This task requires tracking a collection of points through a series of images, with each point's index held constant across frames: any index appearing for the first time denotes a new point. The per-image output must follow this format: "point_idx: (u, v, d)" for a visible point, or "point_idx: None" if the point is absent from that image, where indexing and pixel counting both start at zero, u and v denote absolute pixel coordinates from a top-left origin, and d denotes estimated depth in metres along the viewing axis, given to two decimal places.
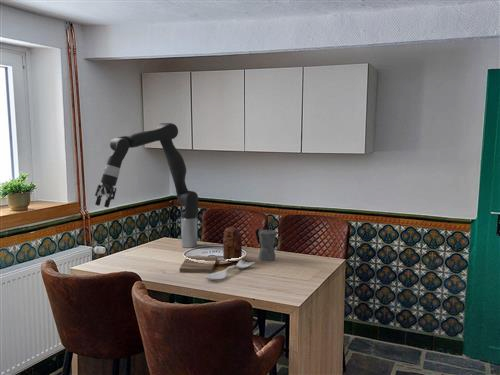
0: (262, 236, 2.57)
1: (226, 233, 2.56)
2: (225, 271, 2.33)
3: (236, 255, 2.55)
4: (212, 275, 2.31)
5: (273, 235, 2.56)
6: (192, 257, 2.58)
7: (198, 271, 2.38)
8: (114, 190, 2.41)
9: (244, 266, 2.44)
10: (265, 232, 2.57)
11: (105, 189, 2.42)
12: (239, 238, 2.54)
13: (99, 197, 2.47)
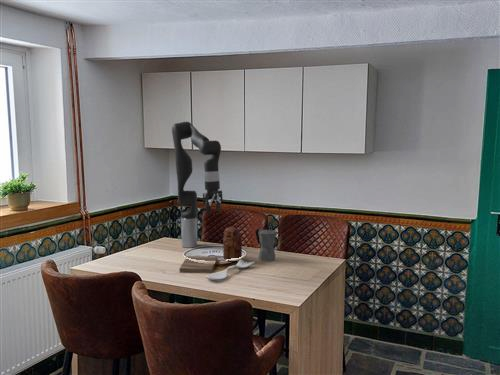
0: (262, 236, 2.57)
1: (226, 233, 2.56)
2: (226, 271, 2.33)
3: (236, 255, 2.55)
4: (213, 275, 2.31)
5: (273, 235, 2.56)
6: (192, 257, 2.58)
7: (198, 271, 2.38)
8: None
9: (244, 266, 2.45)
10: (265, 232, 2.57)
11: (218, 195, 2.47)
12: (239, 238, 2.54)
13: None
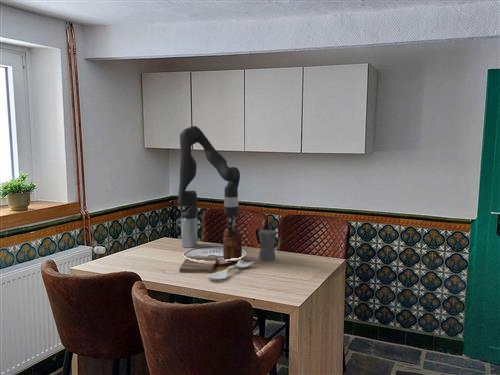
0: (262, 236, 2.57)
1: (226, 233, 2.56)
2: (226, 271, 2.33)
3: (236, 255, 2.55)
4: (213, 275, 2.31)
5: (273, 235, 2.56)
6: (192, 257, 2.58)
7: (198, 271, 2.38)
8: None
9: (244, 266, 2.45)
10: (265, 232, 2.57)
11: None
12: (239, 238, 2.54)
13: None
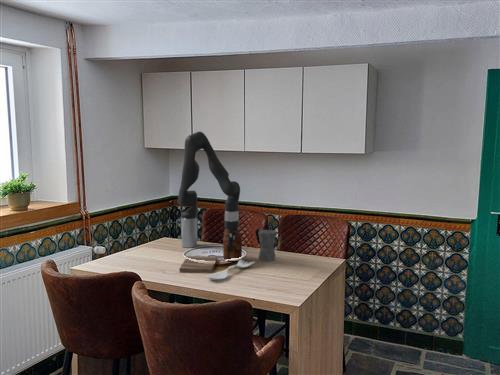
0: (262, 236, 2.57)
1: (226, 233, 2.56)
2: (226, 271, 2.33)
3: (236, 255, 2.55)
4: (214, 275, 2.31)
5: (273, 235, 2.56)
6: (192, 257, 2.58)
7: (198, 271, 2.38)
8: None
9: (244, 266, 2.45)
10: (265, 232, 2.57)
11: None
12: (239, 238, 2.54)
13: None
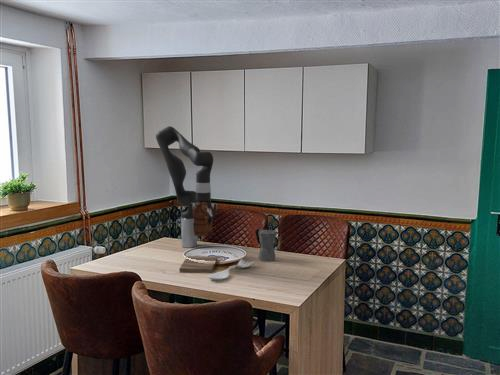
0: (262, 236, 2.57)
1: (205, 206, 2.44)
2: (227, 271, 2.34)
3: (211, 226, 2.50)
4: (214, 275, 2.31)
5: (273, 235, 2.56)
6: (192, 257, 2.58)
7: (198, 271, 2.38)
8: None
9: (245, 266, 2.45)
10: (265, 232, 2.57)
11: None
12: (211, 208, 2.51)
13: (210, 215, 2.47)
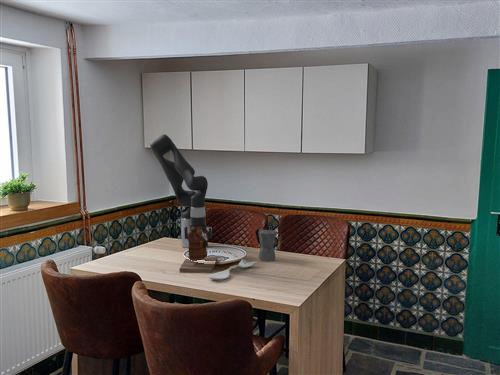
0: (262, 236, 2.57)
1: (200, 230, 2.44)
2: (228, 271, 2.34)
3: (206, 249, 2.51)
4: (215, 275, 2.31)
5: (273, 235, 2.56)
6: None
7: (198, 271, 2.38)
8: None
9: (246, 266, 2.45)
10: (265, 232, 2.57)
11: None
12: None
13: (205, 239, 2.47)
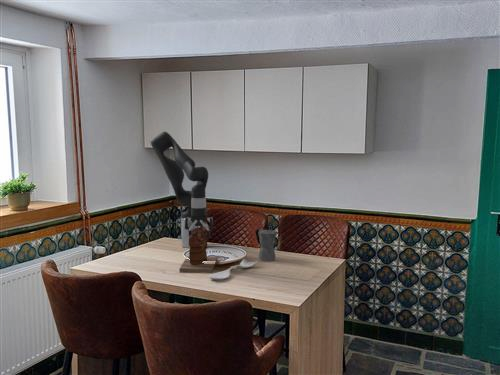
0: (262, 236, 2.57)
1: (200, 234, 2.44)
2: (228, 271, 2.34)
3: None
4: (215, 275, 2.31)
5: (273, 235, 2.56)
6: None
7: (198, 271, 2.38)
8: None
9: (247, 266, 2.45)
10: (265, 232, 2.57)
11: None
12: None
13: (207, 229, 2.47)
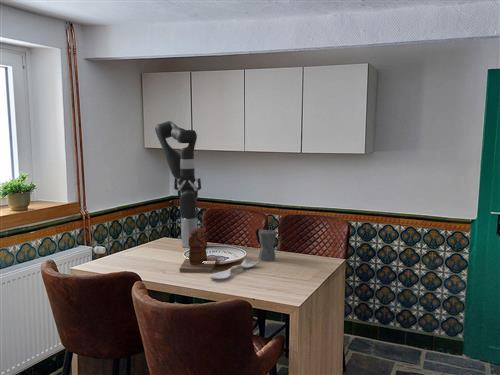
0: (262, 236, 2.57)
1: (200, 234, 2.44)
2: (229, 270, 2.34)
3: None
4: (216, 274, 2.31)
5: (273, 235, 2.56)
6: None
7: (198, 271, 2.38)
8: None
9: (248, 266, 2.45)
10: (265, 232, 2.57)
11: None
12: (205, 235, 2.52)
13: (195, 190, 2.61)
